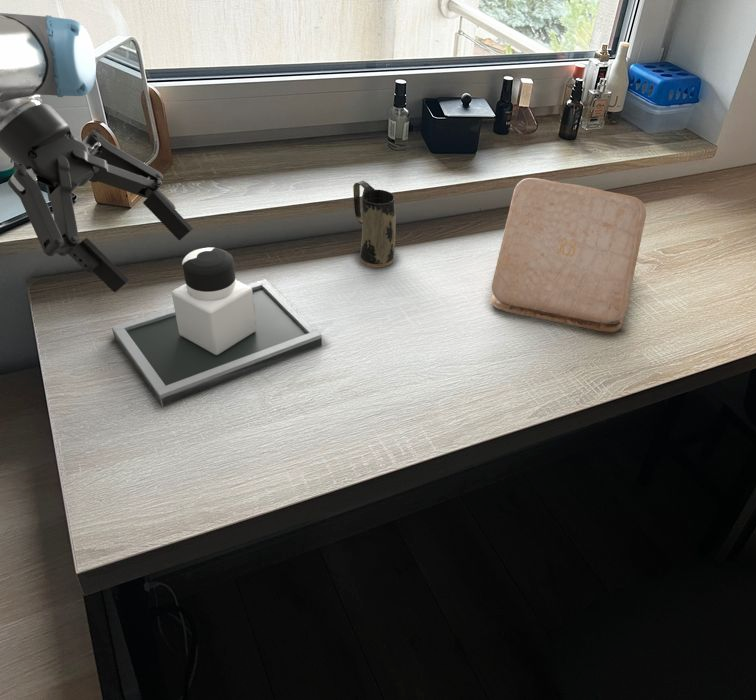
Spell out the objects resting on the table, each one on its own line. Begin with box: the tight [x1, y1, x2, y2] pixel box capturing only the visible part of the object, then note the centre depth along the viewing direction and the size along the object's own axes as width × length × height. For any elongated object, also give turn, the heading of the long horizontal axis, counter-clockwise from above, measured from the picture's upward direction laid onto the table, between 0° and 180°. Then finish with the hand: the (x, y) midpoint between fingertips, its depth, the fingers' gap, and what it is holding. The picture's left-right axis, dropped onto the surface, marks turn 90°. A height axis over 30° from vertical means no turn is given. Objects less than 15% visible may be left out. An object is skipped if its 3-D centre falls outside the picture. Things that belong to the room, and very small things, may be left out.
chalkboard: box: [111, 278, 323, 408], centre depth 97 cm, size 22×16×2 cm
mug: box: [352, 180, 397, 268], centre depth 115 cm, size 8×6×12 cm
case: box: [491, 177, 647, 333], centre depth 111 cm, size 20×21×16 cm
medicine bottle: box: [171, 247, 256, 355], centre depth 93 cm, size 7×7×12 cm
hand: (156, 259), depth 92 cm, fingers open, 13 cm apart
